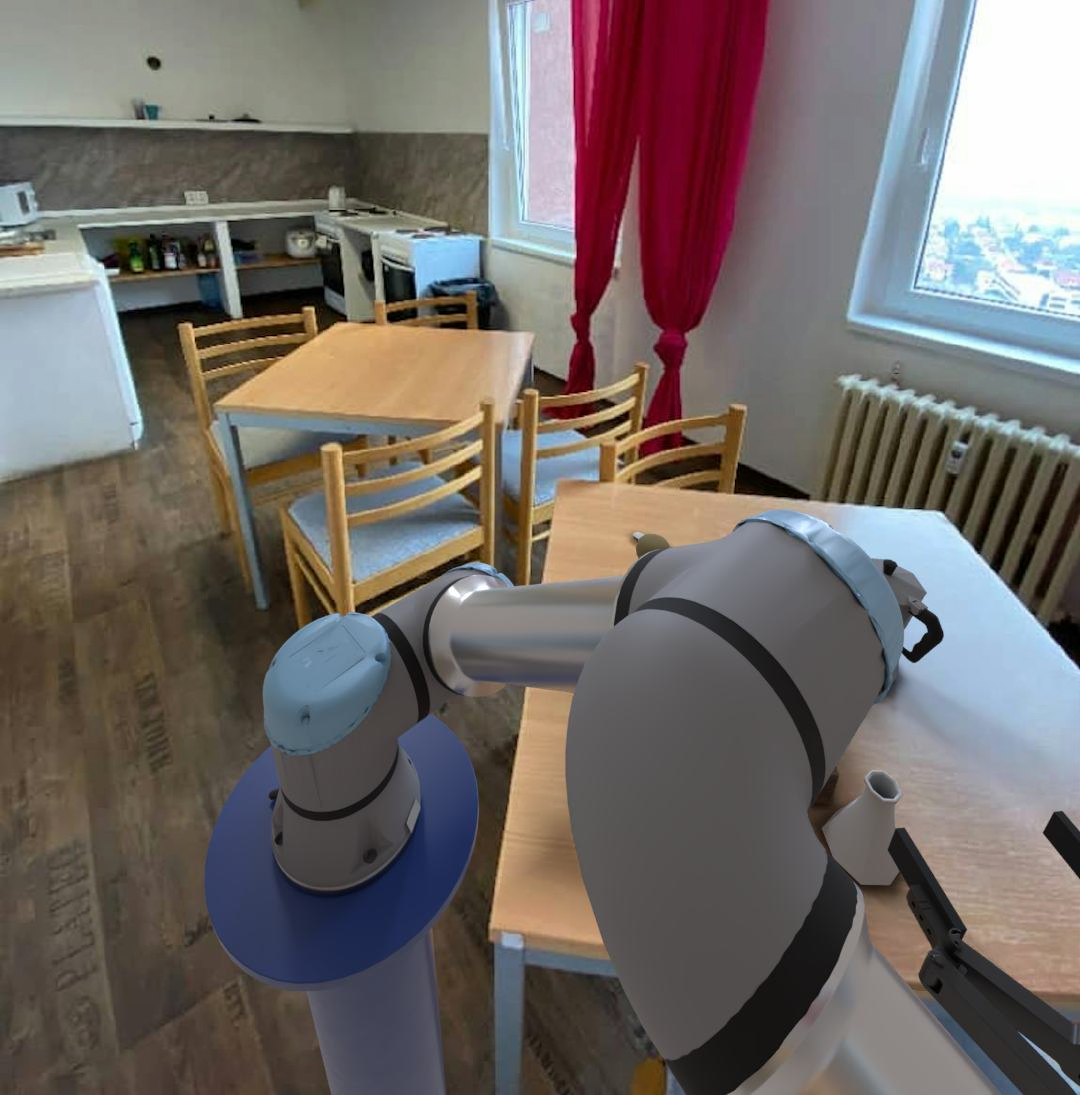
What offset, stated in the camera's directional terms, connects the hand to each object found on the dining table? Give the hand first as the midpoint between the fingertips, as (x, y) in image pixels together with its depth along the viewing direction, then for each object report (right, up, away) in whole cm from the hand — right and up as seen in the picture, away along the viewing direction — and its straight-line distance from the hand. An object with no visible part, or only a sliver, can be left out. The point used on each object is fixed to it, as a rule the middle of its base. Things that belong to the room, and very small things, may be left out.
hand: (974, 829), depth 48 cm
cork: (-18, +1, +48) cm, 51 cm away
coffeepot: (+10, -5, +36) cm, 37 cm away
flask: (-1, -13, +15) cm, 20 cm away
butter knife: (-8, +3, +54) cm, 55 cm away
